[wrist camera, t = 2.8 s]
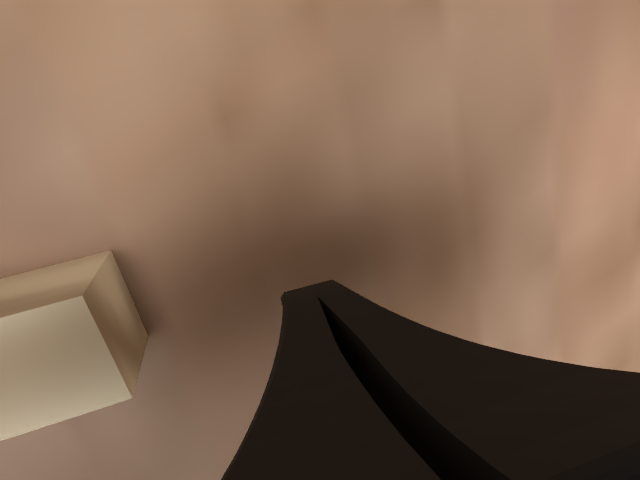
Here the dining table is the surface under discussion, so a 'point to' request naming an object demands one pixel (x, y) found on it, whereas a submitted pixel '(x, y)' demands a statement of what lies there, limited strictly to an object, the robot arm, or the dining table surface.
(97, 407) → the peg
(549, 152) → the dining table surface
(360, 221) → the dining table surface
